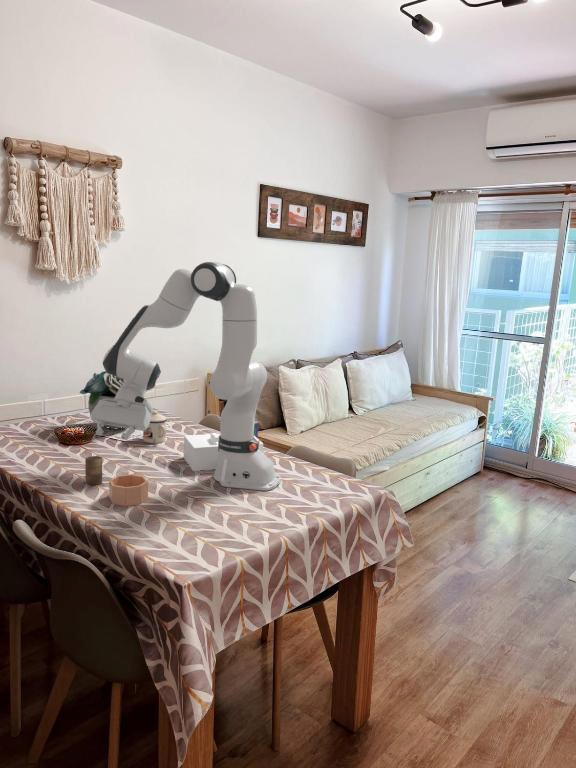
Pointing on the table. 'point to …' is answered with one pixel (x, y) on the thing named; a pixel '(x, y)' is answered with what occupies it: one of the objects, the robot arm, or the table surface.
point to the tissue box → (204, 451)
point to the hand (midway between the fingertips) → (111, 436)
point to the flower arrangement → (102, 389)
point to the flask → (256, 429)
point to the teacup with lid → (155, 429)
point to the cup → (128, 490)
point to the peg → (93, 470)
